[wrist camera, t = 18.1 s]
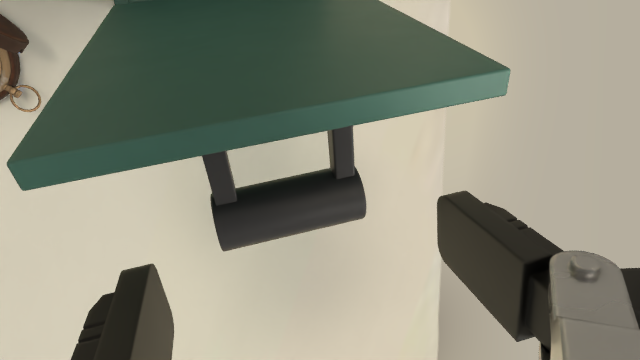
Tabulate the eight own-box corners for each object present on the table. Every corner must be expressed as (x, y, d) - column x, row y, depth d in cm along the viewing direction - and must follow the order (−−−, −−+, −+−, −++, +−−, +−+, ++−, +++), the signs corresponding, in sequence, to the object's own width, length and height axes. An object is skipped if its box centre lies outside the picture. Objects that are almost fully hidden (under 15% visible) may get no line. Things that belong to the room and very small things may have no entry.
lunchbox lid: (4, 163, 9) (99, 323, 13) (512, 68, 11) (483, 226, 15) (113, 5, 23) (144, 99, 27) (332, -25, 25) (337, 66, 29)
